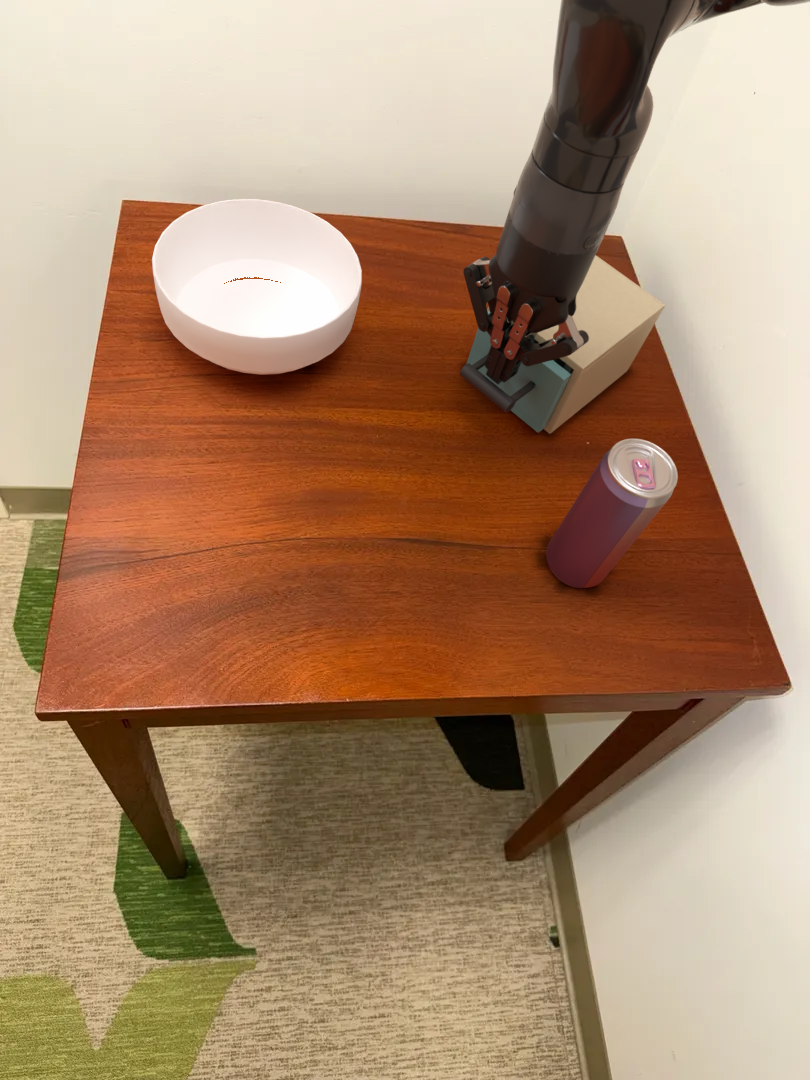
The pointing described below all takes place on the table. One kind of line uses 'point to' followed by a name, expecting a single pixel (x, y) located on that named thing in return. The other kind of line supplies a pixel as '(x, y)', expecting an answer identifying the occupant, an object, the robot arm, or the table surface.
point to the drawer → (519, 384)
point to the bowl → (256, 285)
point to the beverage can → (611, 512)
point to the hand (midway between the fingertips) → (497, 375)
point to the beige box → (603, 336)
